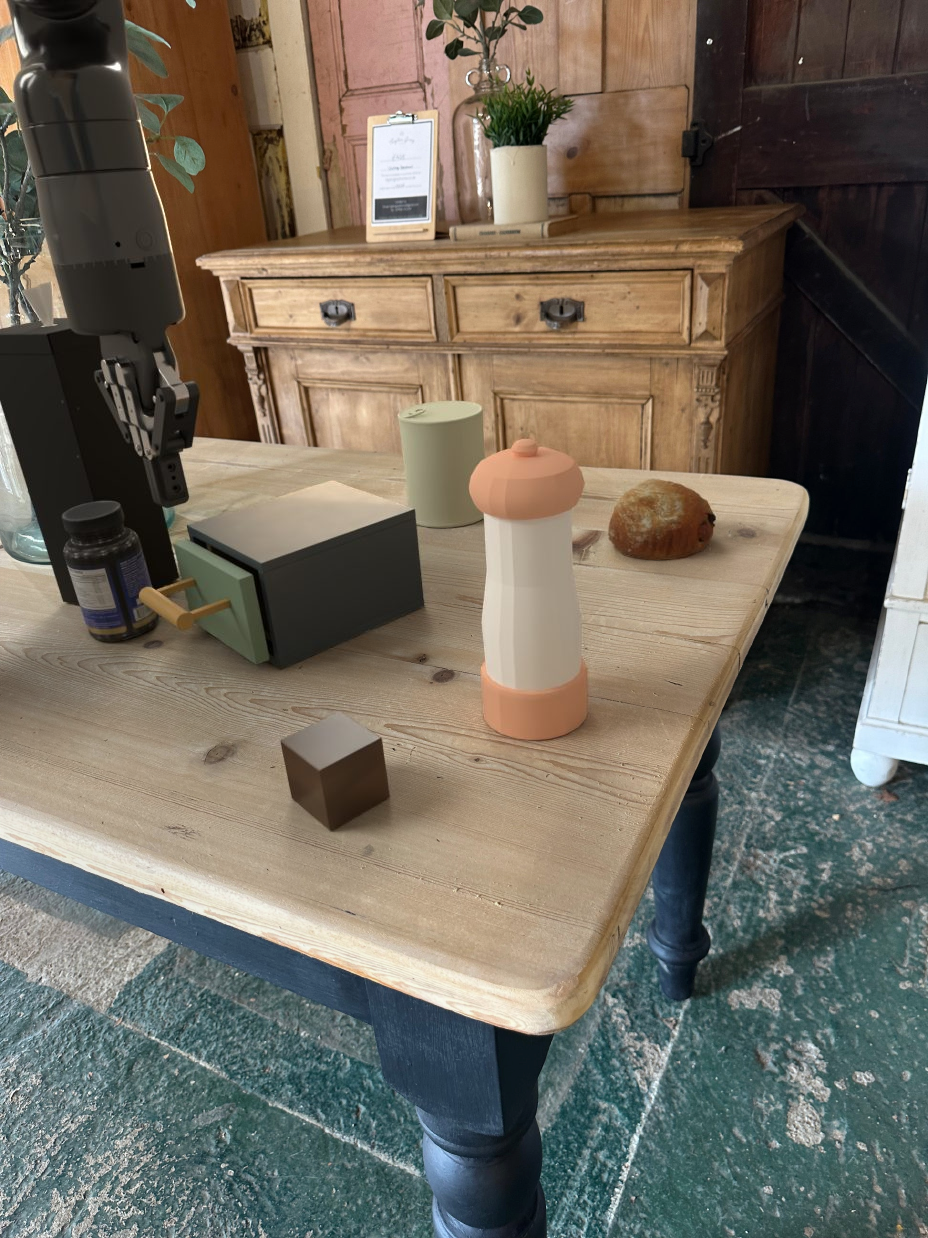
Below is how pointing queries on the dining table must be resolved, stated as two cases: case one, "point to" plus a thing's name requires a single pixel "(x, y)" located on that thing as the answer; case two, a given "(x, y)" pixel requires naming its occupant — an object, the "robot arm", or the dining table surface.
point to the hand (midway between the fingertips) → (172, 503)
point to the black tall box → (73, 439)
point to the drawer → (216, 599)
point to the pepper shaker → (530, 593)
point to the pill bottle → (107, 571)
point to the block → (335, 769)
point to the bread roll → (661, 521)
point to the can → (442, 460)
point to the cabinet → (323, 564)
